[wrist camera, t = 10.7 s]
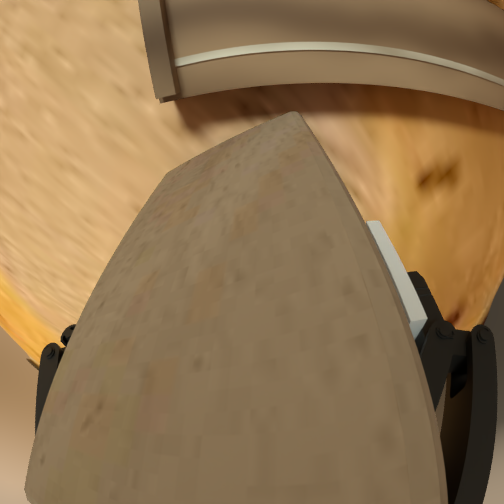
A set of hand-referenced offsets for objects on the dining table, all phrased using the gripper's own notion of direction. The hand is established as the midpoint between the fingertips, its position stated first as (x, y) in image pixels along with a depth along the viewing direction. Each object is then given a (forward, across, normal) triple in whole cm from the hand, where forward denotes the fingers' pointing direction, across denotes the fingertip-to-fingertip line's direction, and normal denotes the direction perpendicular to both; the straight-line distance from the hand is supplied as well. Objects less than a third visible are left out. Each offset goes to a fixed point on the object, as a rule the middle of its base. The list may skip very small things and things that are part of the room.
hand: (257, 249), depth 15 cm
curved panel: (+7, +9, +12) cm, 17 cm away
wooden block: (+6, 0, 0) cm, 6 cm away
